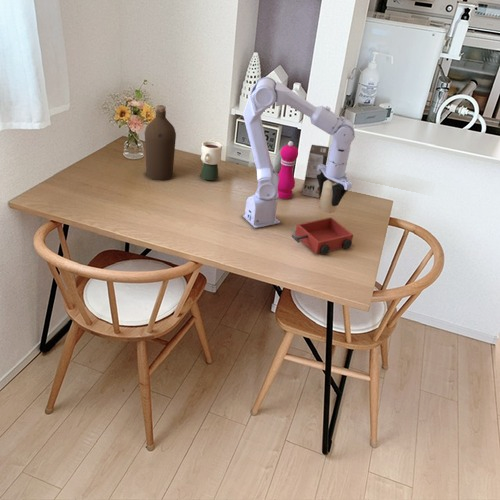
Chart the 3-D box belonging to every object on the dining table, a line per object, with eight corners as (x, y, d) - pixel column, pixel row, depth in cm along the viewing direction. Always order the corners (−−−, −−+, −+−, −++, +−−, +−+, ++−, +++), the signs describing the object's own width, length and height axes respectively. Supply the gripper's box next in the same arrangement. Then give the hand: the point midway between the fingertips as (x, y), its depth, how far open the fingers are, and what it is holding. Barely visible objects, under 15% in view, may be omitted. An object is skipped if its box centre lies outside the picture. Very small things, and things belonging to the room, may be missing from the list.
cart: (316, 254, 157) (318, 242, 155) (295, 235, 165) (297, 224, 163) (350, 245, 163) (353, 234, 161) (328, 228, 171) (331, 217, 169)
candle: (339, 209, 168) (345, 181, 162) (329, 215, 164) (335, 185, 159) (325, 203, 170) (331, 174, 165) (315, 208, 167) (320, 179, 162)
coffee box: (319, 198, 189) (327, 156, 180) (301, 195, 189) (309, 152, 181) (321, 187, 196) (329, 146, 188) (304, 184, 197) (311, 143, 188)
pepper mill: (269, 196, 186) (277, 142, 175) (276, 188, 192) (284, 135, 181) (289, 201, 184) (298, 147, 173) (295, 193, 190) (304, 140, 179)
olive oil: (180, 178, 191) (182, 109, 177) (153, 183, 185) (154, 113, 171) (165, 166, 197) (166, 100, 184) (139, 171, 191) (138, 103, 178)
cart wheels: (305, 259, 154) (307, 249, 152) (281, 236, 164) (282, 226, 162) (350, 248, 162) (353, 238, 160) (324, 226, 172) (326, 217, 170)
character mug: (207, 170, 198) (209, 137, 191) (224, 175, 196) (227, 142, 189) (193, 181, 190) (195, 146, 183) (211, 186, 188) (214, 151, 181)
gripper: (363, 168, 155) (353, 209, 162) (333, 149, 165) (325, 189, 173) (345, 171, 152) (335, 213, 159) (315, 152, 162) (307, 192, 169)
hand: (329, 200), depth 166 cm, fingers closed on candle, 5 cm apart
